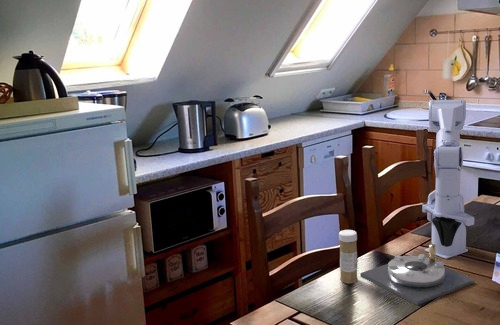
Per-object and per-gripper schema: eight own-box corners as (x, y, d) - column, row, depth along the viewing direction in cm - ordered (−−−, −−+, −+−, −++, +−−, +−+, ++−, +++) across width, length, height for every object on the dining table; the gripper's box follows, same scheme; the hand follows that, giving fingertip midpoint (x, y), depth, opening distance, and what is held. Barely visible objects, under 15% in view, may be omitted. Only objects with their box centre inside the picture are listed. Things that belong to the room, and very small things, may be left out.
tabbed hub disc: (414, 260, 150) (415, 236, 148) (456, 277, 138) (457, 252, 136) (376, 273, 143) (376, 249, 142) (417, 292, 131) (417, 266, 130)
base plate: (414, 258, 154) (414, 254, 154) (474, 282, 137) (474, 278, 137) (360, 276, 144) (360, 272, 144) (417, 305, 127) (417, 301, 127)
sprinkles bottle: (346, 275, 146) (345, 227, 143) (361, 279, 143) (360, 231, 140) (336, 281, 142) (335, 233, 140) (351, 285, 139) (350, 236, 136)
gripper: (413, 190, 139) (413, 240, 142) (460, 203, 127) (459, 257, 130) (433, 185, 142) (432, 234, 145) (480, 197, 130) (479, 250, 133)
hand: (446, 245), depth 138 cm, fingers closed
